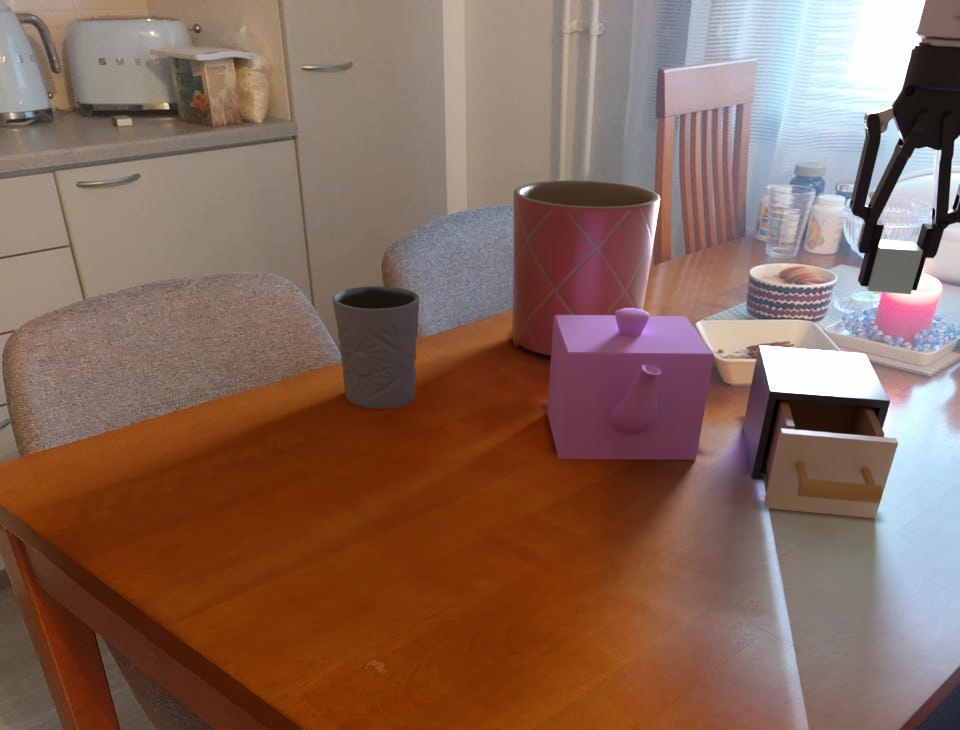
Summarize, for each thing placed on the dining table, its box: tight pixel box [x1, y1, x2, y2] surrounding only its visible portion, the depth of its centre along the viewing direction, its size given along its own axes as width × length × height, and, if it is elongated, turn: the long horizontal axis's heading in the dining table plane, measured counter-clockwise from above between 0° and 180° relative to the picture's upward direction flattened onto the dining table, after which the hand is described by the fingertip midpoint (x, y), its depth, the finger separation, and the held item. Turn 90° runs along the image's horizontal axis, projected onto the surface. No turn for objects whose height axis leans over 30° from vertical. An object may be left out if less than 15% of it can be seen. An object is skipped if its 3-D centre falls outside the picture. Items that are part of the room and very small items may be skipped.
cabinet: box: [742, 345, 891, 481], centre depth 100 cm, size 15×12×10 cm
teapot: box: [546, 308, 715, 461], centre depth 101 cm, size 15×25×14 cm, turn 2°
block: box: [865, 238, 923, 295], centre depth 105 cm, size 5×5×5 cm
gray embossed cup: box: [332, 285, 420, 410], centre depth 111 cm, size 10×10×12 cm
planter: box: [511, 179, 661, 357], centre depth 126 cm, size 19×19×20 cm
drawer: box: [763, 399, 899, 519], centre depth 90 cm, size 19×10×8 cm, turn 170°
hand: (886, 284), depth 106 cm, fingers closed on block, 5 cm apart
